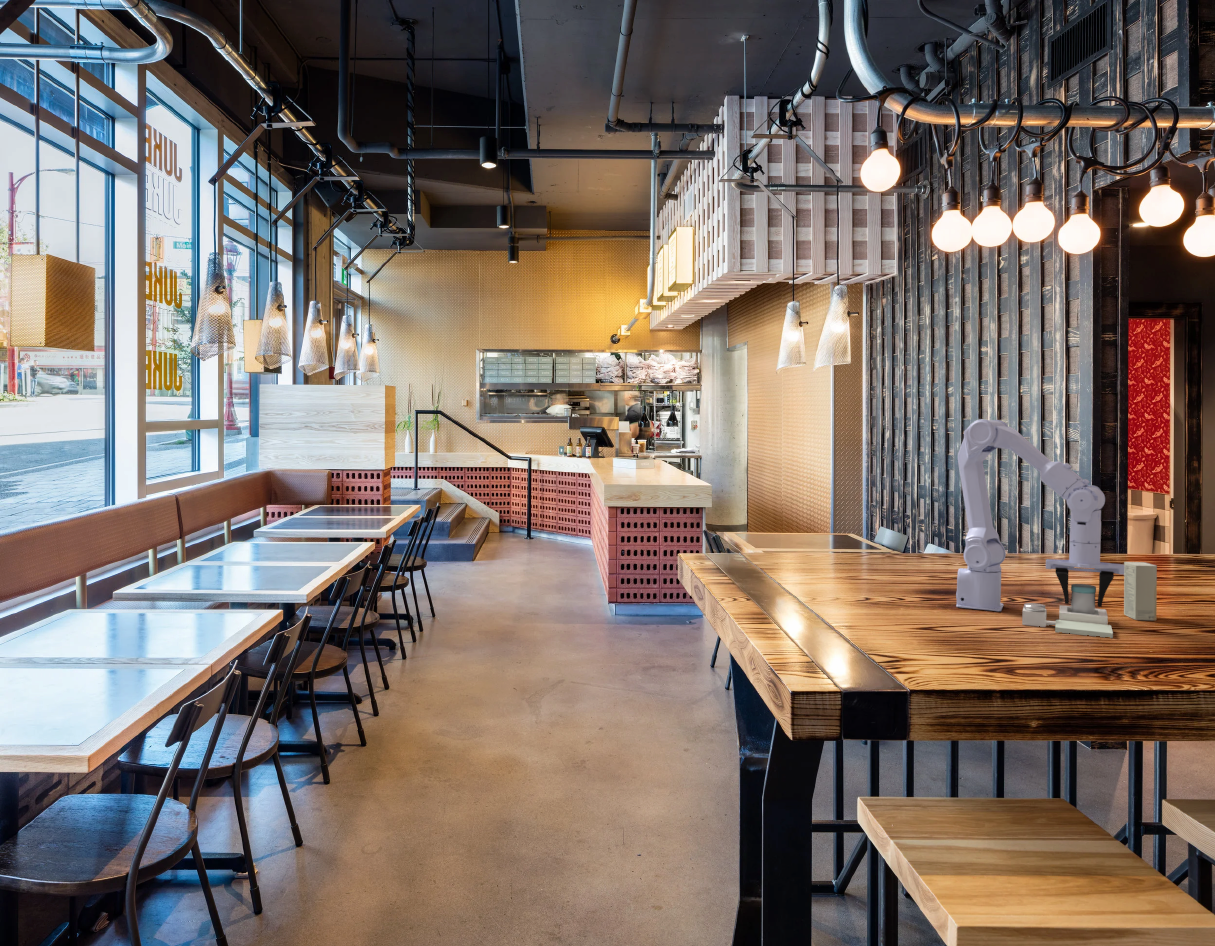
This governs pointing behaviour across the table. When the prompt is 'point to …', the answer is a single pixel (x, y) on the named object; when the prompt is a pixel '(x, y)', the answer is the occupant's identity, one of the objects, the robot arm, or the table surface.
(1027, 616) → the holder
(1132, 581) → the skincare box
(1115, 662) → the table surface
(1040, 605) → the plunger
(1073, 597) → the cartridge
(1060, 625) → the pad
